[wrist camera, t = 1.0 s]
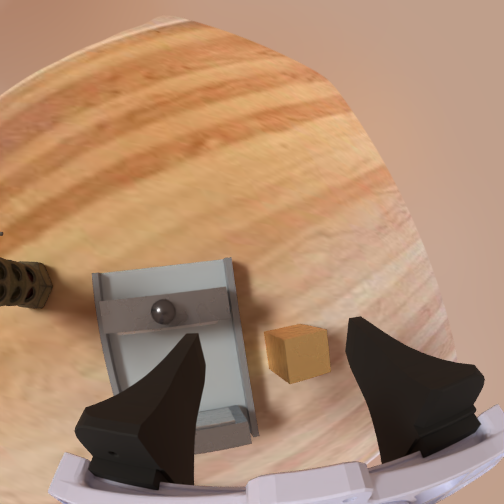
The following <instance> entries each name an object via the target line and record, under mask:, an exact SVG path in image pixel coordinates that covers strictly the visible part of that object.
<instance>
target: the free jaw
mask: <svg viewBox="0 0 504 504" xmlns="http://www.w3.org/2000/svg"><path fill="white" fill-rule="evenodd" d="M99 303H100V310H101V317H102V323H103V329H104V334H108V333H117V334H118V335H126V334H136V333H146V332H155V331H164V330H172V329H180V328H187V327H195V326H202V325H209V324H215V323H218V320H224V319H231V315H230V308H229V302H228V295H227V288H226V286H225V287H218V288H210V289H202V290H195V291H187V292H179V293H170V294H162V295H153V296H144V297H135V298H126V299H116V300H107V301H99Z"/></svg>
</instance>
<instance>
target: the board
mask: <svg viewBox="0 0 504 504" xmlns="http://www.w3.org/2000/svg"><path fill="white" fill-rule="evenodd" d="M92 281H93V290H94V299H95V306H96V314H97V320H98V326H99V332H100V338H101V343H102V348H103V353H104V358H105V362H106V367H107V371H108V375H109V379H110V383H111V387H112V391H113V394H114V396H115V395H117V394H119V393H121V392H122V391H124V390H126V389H127V388H129V387H130V386H132V385H133V384H135V383H136V382H138V381H139V380H140V379H142V378H143V377H144V376H146V375H147V374H148V373H149V372H150V371H152V370H153V369H154V368H155V367H156V366H157V365H158V364H159V363H160V362H161V361H162V360H163V359H164V358H165V357H166V356H167V355H168V353H169V352H170V351H171V350H172V349H173V348H174V347H175V346H176V344H177V343H178V342H179V341H180V340H181V339H182V338H183V336H184V335H185V334H186V333H198V334H199V338H200V342H201V346H202V351H203V355H204V359H205V363H206V373H205V384H204V389H203V393H202V398H201V403H200V407H199V412H200V411H206V410H212V409H218V408H223V407H228V406H233V405H238V406H239V408H240V410H241V411H242V413H243V415H244V416H245V418H246V419H247V421H248V426H249V431H250V433H251V434H252V436H253V437H257V436H259V432H258V426H257V420H256V414H255V408H254V403H253V397H252V391H251V385H250V378H249V372H248V366H247V360H246V354H245V347H244V341H243V334H242V328H241V321H240V314H239V308H238V301H237V294H236V287H235V280H234V273H233V266H232V259H231V257H230V258H224V259H222V260H214V261H205V262H197V263H188V264H179V265H170V266H162V267H153V268H144V269H135V270H126V271H118V272H109V273H92ZM225 286H226V288H227V295H228V302H229V308H230V315H231V319H224V320H218V323H215V324H209V325H202V326H195V327H187V328H180V329H172V330H164V331H155V332H146V333H136V334H126V335H118V334H117V333H108V334H104V329H103V323H102V317H101V310H100V303H99V301H107V300H116V299H126V298H135V297H144V296H153V295H162V294H170V293H179V292H187V291H195V290H202V289H210V288H218V287H225Z"/></svg>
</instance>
